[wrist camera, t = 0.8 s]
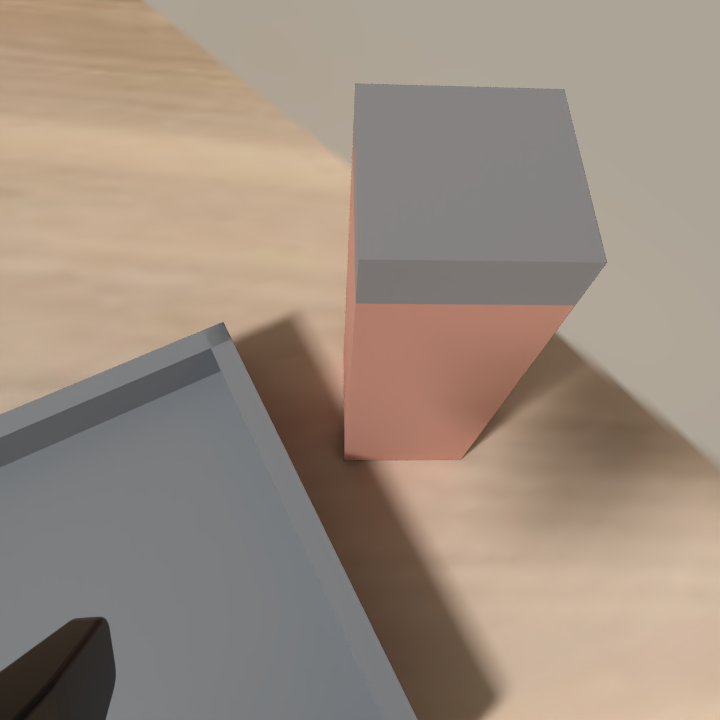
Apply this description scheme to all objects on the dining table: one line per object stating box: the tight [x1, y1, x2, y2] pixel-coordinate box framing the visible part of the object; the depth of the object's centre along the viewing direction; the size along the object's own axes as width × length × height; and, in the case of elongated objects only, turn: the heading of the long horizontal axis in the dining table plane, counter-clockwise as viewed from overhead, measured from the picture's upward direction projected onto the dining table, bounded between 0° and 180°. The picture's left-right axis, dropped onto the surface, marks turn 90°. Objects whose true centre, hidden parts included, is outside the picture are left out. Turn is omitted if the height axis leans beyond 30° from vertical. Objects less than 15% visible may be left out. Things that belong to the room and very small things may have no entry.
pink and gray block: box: [344, 84, 607, 460], centre depth 17 cm, size 4×4×13 cm
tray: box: [0, 322, 418, 720], centre depth 18 cm, size 16×14×3 cm
